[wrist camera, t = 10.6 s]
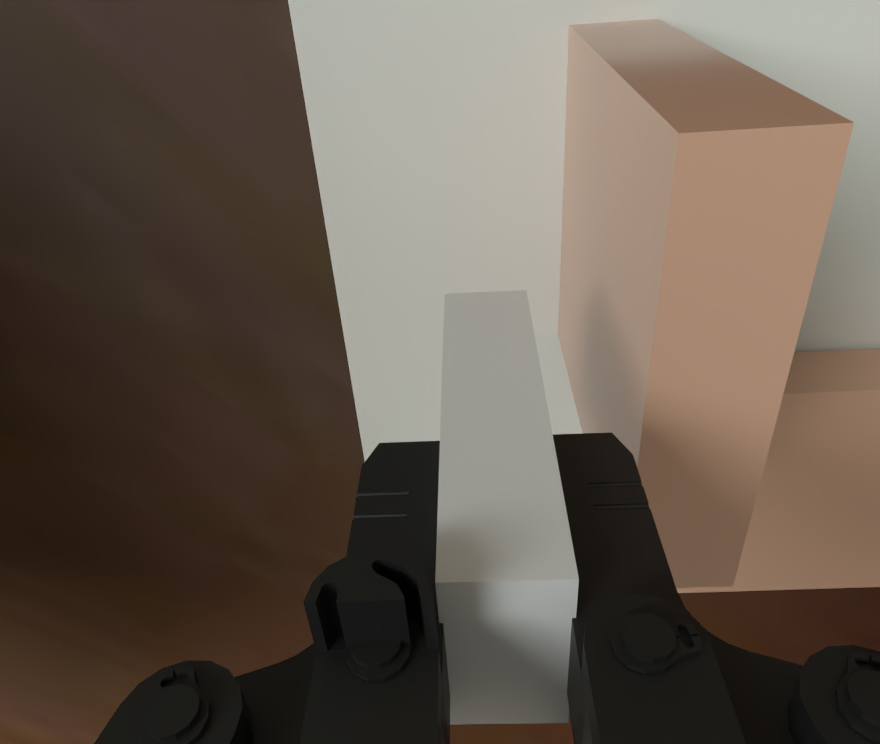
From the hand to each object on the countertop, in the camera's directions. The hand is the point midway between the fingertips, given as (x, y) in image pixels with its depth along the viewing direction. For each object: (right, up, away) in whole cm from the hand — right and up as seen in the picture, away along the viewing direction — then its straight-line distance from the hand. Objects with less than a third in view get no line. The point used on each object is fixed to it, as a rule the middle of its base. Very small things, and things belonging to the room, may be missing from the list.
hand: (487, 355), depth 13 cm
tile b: (+4, +5, +6) cm, 9 cm away
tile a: (+5, -4, +11) cm, 13 cm away
